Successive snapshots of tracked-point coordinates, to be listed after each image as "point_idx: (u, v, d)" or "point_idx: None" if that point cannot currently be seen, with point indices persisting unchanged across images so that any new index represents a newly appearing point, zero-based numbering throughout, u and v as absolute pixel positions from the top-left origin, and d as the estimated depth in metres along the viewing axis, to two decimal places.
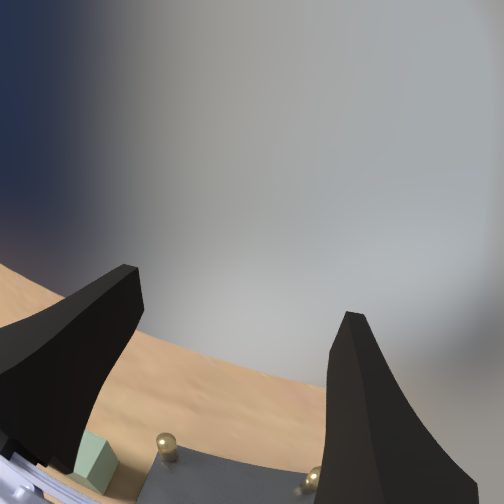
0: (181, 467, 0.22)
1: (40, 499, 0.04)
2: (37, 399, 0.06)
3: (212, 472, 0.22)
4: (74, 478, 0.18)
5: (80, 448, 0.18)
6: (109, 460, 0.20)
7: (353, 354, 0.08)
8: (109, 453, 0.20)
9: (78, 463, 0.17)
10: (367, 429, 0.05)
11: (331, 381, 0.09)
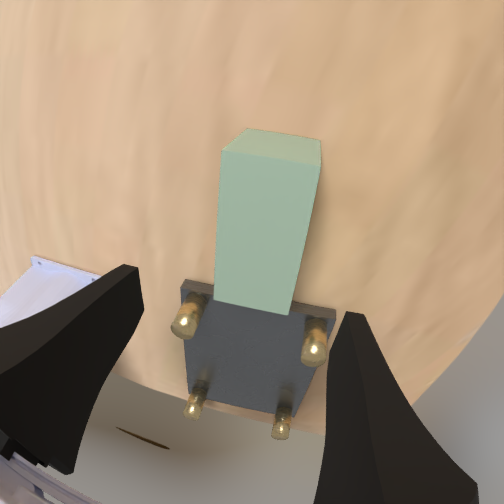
0: (299, 337, 0.23)
1: (40, 499, 0.04)
2: (37, 399, 0.06)
3: (296, 360, 0.24)
4: None
5: (256, 285, 0.16)
6: None
7: (353, 354, 0.08)
8: None
9: (229, 287, 0.16)
10: (367, 429, 0.05)
11: (331, 381, 0.09)
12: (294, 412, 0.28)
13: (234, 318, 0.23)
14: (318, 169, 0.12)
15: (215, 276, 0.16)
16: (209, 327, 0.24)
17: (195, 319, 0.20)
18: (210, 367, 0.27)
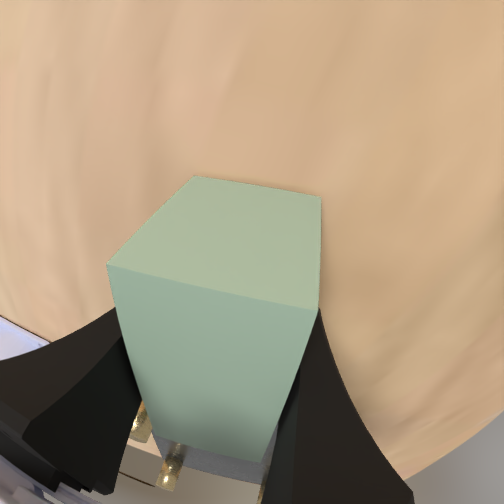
0: None
1: (40, 499, 0.04)
2: (85, 425, 0.06)
3: None
4: None
5: (210, 436, 0.09)
6: None
7: None
8: None
9: (173, 431, 0.09)
10: (295, 421, 0.06)
11: None
12: None
13: None
14: (312, 315, 0.05)
15: (150, 418, 0.09)
16: None
17: (148, 422, 0.14)
18: (181, 445, 0.20)
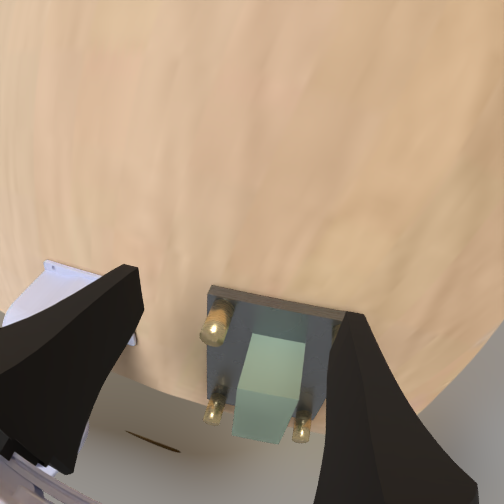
0: (325, 342, 0.22)
1: (40, 499, 0.04)
2: (37, 399, 0.06)
3: (321, 364, 0.24)
4: None
5: (259, 433, 0.22)
6: None
7: (353, 354, 0.08)
8: None
9: (242, 432, 0.23)
10: (367, 429, 0.05)
11: (331, 381, 0.09)
12: (314, 415, 0.28)
13: (261, 324, 0.22)
14: (297, 400, 0.19)
15: (233, 427, 0.23)
16: (235, 333, 0.24)
17: (225, 326, 0.20)
18: (232, 372, 0.26)
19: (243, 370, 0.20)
